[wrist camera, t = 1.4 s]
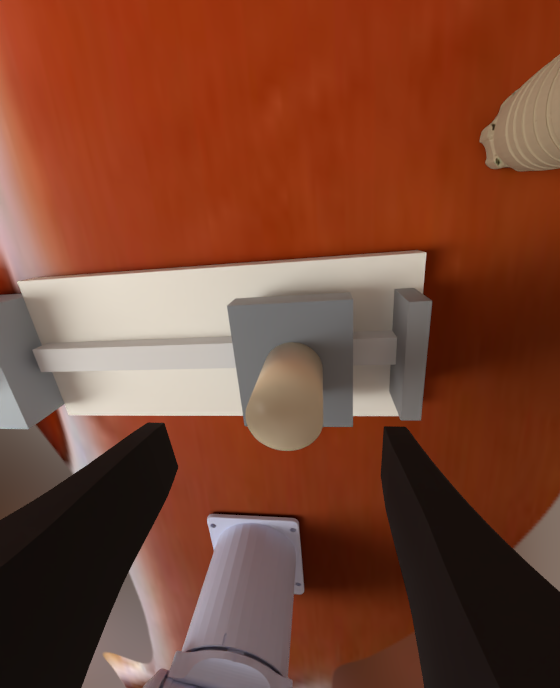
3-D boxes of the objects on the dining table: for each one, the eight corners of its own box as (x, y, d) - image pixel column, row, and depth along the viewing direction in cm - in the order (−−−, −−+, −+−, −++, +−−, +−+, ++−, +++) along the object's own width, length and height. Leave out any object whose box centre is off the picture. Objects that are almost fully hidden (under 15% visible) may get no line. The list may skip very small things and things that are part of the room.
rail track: (406, 403, 21) (427, 448, 17) (83, 404, 24) (34, 441, 20) (418, 249, 17) (448, 258, 13) (37, 277, 21) (-34, 291, 17)
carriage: (348, 399, 19) (362, 491, 13) (254, 399, 20) (222, 486, 13) (348, 287, 17) (365, 329, 10) (240, 293, 17) (192, 336, 11)
